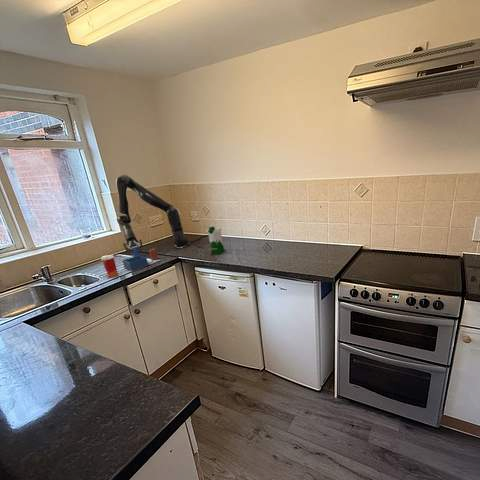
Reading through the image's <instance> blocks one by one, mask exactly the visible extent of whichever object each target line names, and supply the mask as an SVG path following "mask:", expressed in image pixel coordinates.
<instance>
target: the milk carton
mask: <svg viewBox="0 0 480 480" xmlns="http://www.w3.org/2000/svg"><path fill="white" fill-rule="evenodd" d="M206 233H207V235H208V236H207V237H208V240H209V246H210V252H211V255H221V254H223V253H224V252H225V251H226V250H225V246H224V243H223V237H222V227H215V226H209V227H208V230H206Z"/></svg>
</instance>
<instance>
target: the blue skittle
mask: <svg viewBox="0 0 480 480" xmlns="http://www.w3.org/2000/svg"><path fill="white" fill-rule="evenodd" d="M131 252H132V255H133V257H135V256H141V255H140V250H139V248H138V247H137V246H133V247H131Z"/></svg>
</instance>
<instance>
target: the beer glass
mask: <svg viewBox="0 0 480 480" xmlns="http://www.w3.org/2000/svg"><path fill="white" fill-rule="evenodd" d="M100 260H101V262H102V264H103V267H104V269H105V271H106V274H107V276H108V278H117V277H118V276H119V274H118V270H117V265H116V261H115V256H114V255H113V254H105V255H103V256H101V258H100Z"/></svg>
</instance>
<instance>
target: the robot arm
mask: <svg viewBox="0 0 480 480" xmlns="http://www.w3.org/2000/svg"><path fill="white" fill-rule="evenodd" d="M115 187H116V190H117V197H118V212H119V213H120V214H121V215H118V216H117V217H116V221H117V223H118V225H119V226H120V228H121V229H122V232H123V235H124V237H125V238H124V239H125V241H126V242H123V243H122V245H123V247H124V250H125V251H128V253H129V255H133V252H132V248H133V247H138V251H139V253H141V252H142V251H143V250H142V248H143V247H144V246H143V242H142V239H137V237H136V233H135V231H134V230H133V227H132V225H131V223H132V218H131V214H130V204H129V203H130V202H129V200H128V197H127V191H128V190H127V189H130V190H132V191H133V192H135V193H136V195H137V196H138V197H139V198H140V199H141V200H142V201H143V202H145V203H147V204H148V205H150V206H152V207H154V208H157V209H160V210H162V211H163V212H164V213H166V216H167V221H168V223H169V226H170V231H171V234H172V237H173V238H172V239H173V243H174V247H175V249H183V248H186V247H188V246H189V239H187V236H186V234H185V231H184V227H183V223H182V221H181V217H180V215H181V211H180V209H179V208H178V207H177V206H174V205H172V204H170V203H168V202H167V201H165V200H164V199H163V198H161V197H160V196H159V195H156V193H154V192H152V191H150V190H149V189H147V188H146V187H145V186H143V185H141V184H140V183H138V182H137V181H135V180H134V179H133V178H131V176H128V175H127V174H121V175H119V176H118V177H117V178H116V179H115ZM204 237H209V236H208V234H206V235H202V236H200V237H199V238H198V239H196V240H190V243H195V242H197V241H199V240H200V239H202V238H204Z"/></svg>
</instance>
